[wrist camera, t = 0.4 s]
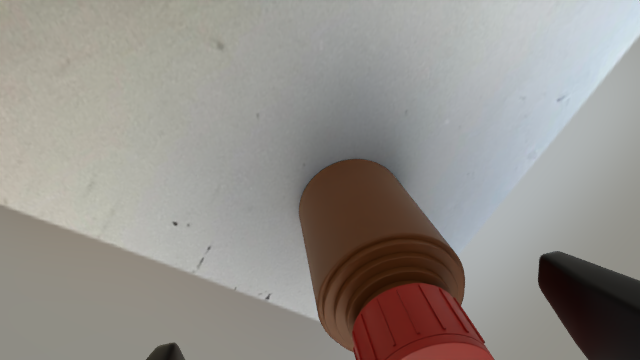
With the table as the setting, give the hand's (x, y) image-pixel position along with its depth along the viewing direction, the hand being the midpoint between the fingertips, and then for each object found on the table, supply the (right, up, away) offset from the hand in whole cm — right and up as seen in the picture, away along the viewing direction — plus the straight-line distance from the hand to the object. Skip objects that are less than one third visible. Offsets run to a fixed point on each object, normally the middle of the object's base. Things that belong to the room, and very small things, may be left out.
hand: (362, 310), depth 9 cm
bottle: (+1, +2, +12) cm, 13 cm away
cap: (+2, -3, +2) cm, 5 cm away
